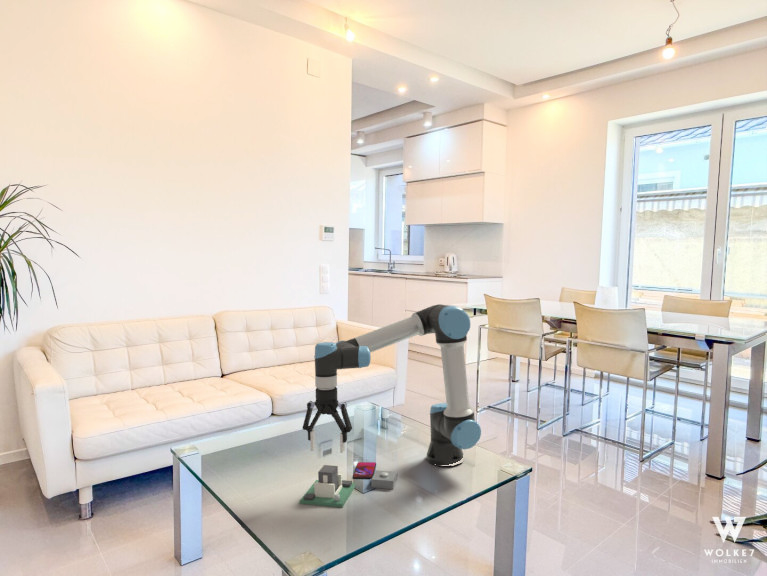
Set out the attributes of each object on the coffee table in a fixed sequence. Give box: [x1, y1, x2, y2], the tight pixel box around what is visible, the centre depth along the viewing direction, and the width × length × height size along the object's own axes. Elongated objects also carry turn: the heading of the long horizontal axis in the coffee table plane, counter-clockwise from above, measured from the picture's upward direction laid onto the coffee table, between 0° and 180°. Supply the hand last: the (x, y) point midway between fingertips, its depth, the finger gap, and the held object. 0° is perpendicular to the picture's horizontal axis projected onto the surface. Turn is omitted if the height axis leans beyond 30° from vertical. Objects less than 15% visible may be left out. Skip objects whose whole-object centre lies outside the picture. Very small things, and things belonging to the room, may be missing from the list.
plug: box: [317, 464, 339, 492], centre depth 169 cm, size 5×6×8 cm
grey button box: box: [370, 469, 398, 490], centre depth 177 cm, size 8×8×4 cm
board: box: [299, 473, 356, 508], centre depth 169 cm, size 15×16×6 cm
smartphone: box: [352, 461, 377, 480], centre depth 189 cm, size 8×1×15 cm
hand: (327, 450), depth 168 cm, fingers open, 10 cm apart
